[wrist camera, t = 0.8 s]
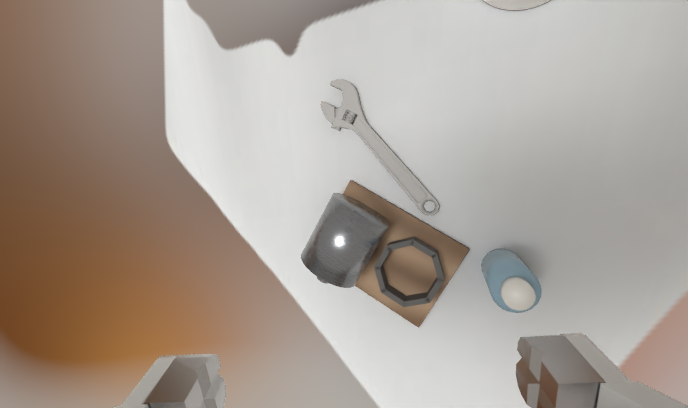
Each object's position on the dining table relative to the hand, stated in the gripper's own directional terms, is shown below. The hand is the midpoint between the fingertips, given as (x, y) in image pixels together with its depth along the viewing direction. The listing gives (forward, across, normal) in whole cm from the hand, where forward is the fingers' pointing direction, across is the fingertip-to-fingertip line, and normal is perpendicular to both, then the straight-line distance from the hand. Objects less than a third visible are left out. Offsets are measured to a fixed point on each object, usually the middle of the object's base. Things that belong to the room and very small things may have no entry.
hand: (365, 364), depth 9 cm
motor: (+41, +2, +14) cm, 43 cm away
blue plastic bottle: (+36, -19, +17) cm, 44 cm away
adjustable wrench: (+45, -3, +1) cm, 45 cm away
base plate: (+40, -3, +16) cm, 43 cm away
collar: (+39, -7, +18) cm, 43 cm away
